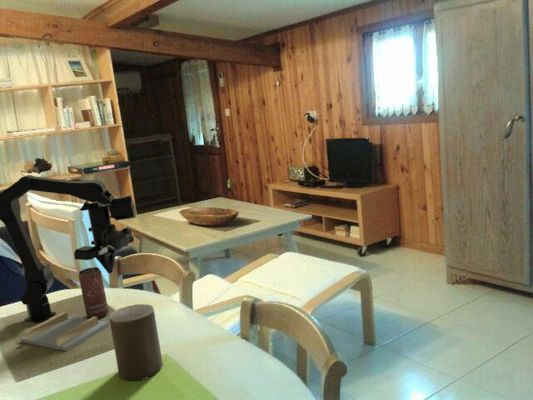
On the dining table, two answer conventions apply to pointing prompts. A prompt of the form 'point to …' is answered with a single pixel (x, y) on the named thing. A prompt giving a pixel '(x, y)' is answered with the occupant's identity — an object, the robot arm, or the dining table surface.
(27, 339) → the tray
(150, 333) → the pillar candle
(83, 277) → the can
